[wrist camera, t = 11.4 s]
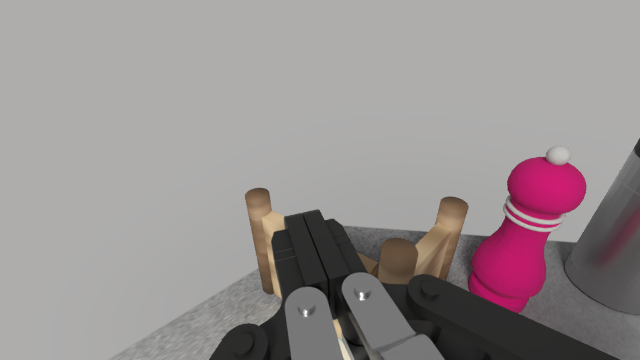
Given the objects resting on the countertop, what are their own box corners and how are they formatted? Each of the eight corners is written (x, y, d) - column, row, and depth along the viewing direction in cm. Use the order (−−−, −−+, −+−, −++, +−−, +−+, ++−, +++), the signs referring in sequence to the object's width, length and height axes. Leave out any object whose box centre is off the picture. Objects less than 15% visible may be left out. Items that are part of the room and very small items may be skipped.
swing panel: (371, 338, 31) (383, 241, 24) (359, 357, 30) (368, 259, 22) (272, 275, 38) (257, 185, 31) (258, 287, 37) (239, 196, 29)
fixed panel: (384, 379, 28) (405, 270, 20) (363, 358, 29) (374, 250, 21) (443, 299, 35) (476, 195, 27) (423, 286, 36) (448, 184, 28)
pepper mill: (462, 263, 41) (509, 127, 30) (522, 277, 38) (596, 135, 28) (465, 308, 35) (523, 159, 24) (536, 327, 33) (634, 173, 22)
